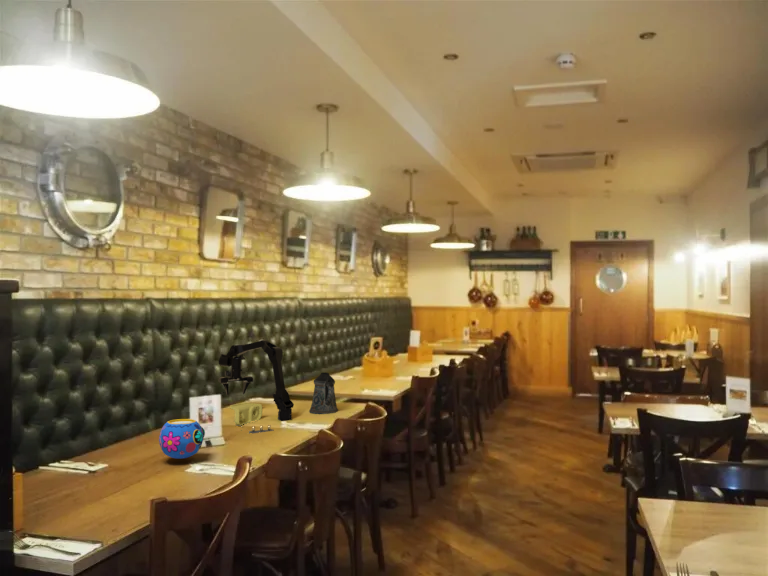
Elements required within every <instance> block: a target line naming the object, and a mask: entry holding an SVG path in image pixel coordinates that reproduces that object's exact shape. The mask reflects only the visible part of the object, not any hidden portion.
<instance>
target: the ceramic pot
mask: <svg viewBox="0 0 768 576" xmlns="http://www.w3.org/2000/svg"><path fill="white" fill-rule="evenodd" d="M205 435H206V432H205V428H203V426H201V424H200V423H199V422H198V421H197V420H195V419H192V418H191V419H190V418H179V419H171V420H168V421H166V423H164V425H162V428H161V430H160V432H159V436H158V444H159V446H160V449H161V450H162V453H163V454H164V455H166V456H167V457H168V458H172V459H180V460H181V459H187V458H190V457H192V456H194V455H195V454H197V453H198V452H199V451H200V450H201V447H202V446H203V442H204V439H205V438H204V437H205Z"/></svg>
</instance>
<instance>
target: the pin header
mask: <svg viewBox="0 0 768 576" xmlns="http://www.w3.org/2000/svg"><path fill="white" fill-rule="evenodd" d="M248 431H249V433H248V434H250V433H252V434H258V433H259V432H260V433H265V432H273V431H274V429H271V424H268V425H267V429H264V426H263V425H259V430H256V426H255V425H252V426H251V430H248Z"/></svg>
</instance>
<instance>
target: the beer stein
mask: <svg viewBox="0 0 768 576" xmlns="http://www.w3.org/2000/svg"><path fill="white" fill-rule="evenodd" d="M335 383H336V381H335V379H334V378H333V377H332V376H331V375H330V373H329V372H320V374H319V375H318V376H317V377H316V378H314V380H313V384H314V389H313V395H312V402H311V405H310V408H309V411H308V412H309V413H310V414H313V415H329V414H335V413H338V411H339V408H338V406H337V405H338V404H337V401H336V394H335V393H336V392H335Z"/></svg>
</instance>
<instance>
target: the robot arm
mask: <svg viewBox="0 0 768 576" xmlns="http://www.w3.org/2000/svg"><path fill="white" fill-rule="evenodd" d="M258 349H262V350H263V352H265V354H267V357H268V360H269V362H270V363H271V365H272V373H273V377H274V378H273V379H274V384H275V392H274V393H273V394H272V396H273V402H274V404H275V405H276V408H277V410H278V411H277V420H279V421H280V422H285V421H293V418H292V415H293V414H292V413H293V412H292V411H293V410H292V409H293V408H294V406H295V404H294V402H293V401H292V399H291V398H290V394H289V392H288V390H287V389H286V385H285V379H284V374H283V373H284V372H283V366H282V360H283V355H284V354H283V349H282V347H280V346H277V345H276V344H274V343H272V342H270V341H269V340H267V339H263V340H259V341H253V342H250V343H246V344H233V345H231V346H230V348H229V351H228V352H227V353H226V354H225V353H221V354H220V357H219V360H218V364H219V366H221V367H230V370H224V376H220V377H218V381H217V382H218V383H220V384H221V385H223V388H224V390H225V393H226V396H229V382H242V384H243V385H242V395H245V393H246V391H247V389H248V387H249V385H250V384H252V383H253V382H254V377H253V376H252V375H244V376H243V377H242V372H243V369H242V363H243V362H242V361H243V360H246V357H244V356H243V354H245V353H247V352H249V351H252V350H258Z"/></svg>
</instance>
